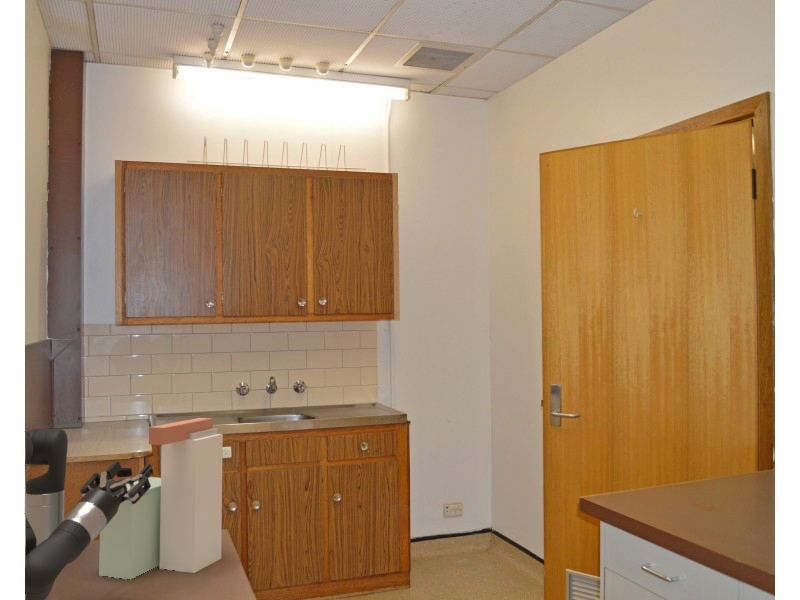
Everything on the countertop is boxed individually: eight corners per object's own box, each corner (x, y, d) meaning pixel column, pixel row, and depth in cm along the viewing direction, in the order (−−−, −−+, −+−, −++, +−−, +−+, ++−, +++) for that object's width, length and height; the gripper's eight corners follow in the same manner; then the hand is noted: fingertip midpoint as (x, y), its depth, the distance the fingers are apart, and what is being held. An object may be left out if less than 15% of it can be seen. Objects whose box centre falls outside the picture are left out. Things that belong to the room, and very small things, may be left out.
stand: (159, 569, 180) (161, 432, 182) (187, 555, 191) (189, 426, 193) (194, 573, 177) (196, 434, 179) (221, 558, 188) (222, 428, 190)
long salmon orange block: (148, 444, 172) (149, 427, 172) (199, 433, 192) (199, 417, 192) (163, 445, 171) (163, 427, 171) (212, 433, 191) (212, 418, 191)
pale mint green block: (97, 576, 174) (98, 491, 175) (149, 553, 193) (150, 477, 194) (130, 580, 172) (132, 494, 172) (180, 556, 190) (181, 479, 191)
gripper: (112, 505, 147) (156, 454, 160) (55, 500, 151) (103, 450, 165) (124, 533, 150) (166, 480, 164) (68, 527, 154) (114, 476, 168)
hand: (134, 465), depth 164 cm, fingers open, 8 cm apart
